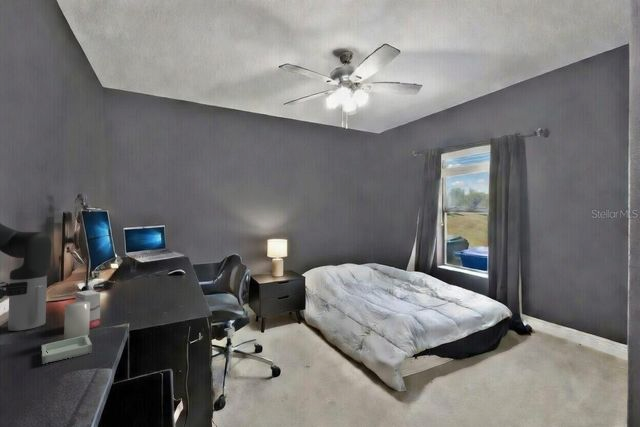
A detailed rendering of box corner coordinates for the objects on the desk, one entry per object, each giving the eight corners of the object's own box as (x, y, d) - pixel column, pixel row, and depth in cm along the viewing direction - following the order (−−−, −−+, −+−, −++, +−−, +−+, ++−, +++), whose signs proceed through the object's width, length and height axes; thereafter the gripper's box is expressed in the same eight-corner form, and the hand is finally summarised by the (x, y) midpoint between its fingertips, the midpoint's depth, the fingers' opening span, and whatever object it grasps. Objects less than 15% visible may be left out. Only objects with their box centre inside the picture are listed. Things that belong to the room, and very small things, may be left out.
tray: (41, 352, 80) (41, 344, 80) (87, 342, 87) (87, 334, 87) (42, 365, 73) (42, 356, 73) (91, 352, 80) (92, 344, 80)
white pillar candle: (63, 339, 89) (64, 304, 90) (87, 334, 93) (88, 300, 94) (64, 345, 85) (65, 308, 85) (90, 339, 89) (91, 304, 90)
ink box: (100, 325, 101) (101, 292, 101) (83, 330, 97) (84, 295, 97) (90, 321, 106) (91, 289, 106) (74, 325, 101) (74, 292, 102)
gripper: (-74, 286, 65) (27, 277, 77) (-60, 278, 75) (28, 271, 87) (-76, 319, 65) (26, 305, 77) (-61, 307, 75) (27, 296, 87)
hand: (27, 287), depth 82 cm, fingers open, 8 cm apart
